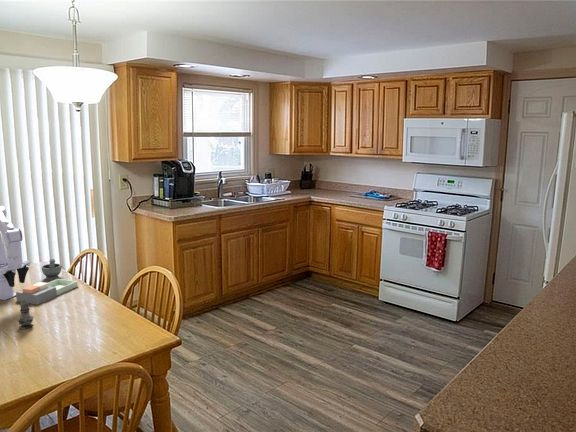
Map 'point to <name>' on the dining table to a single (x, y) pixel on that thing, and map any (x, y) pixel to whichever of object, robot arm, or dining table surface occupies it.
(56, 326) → the dining table surface
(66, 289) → the green bin
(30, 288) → the terracotta tile
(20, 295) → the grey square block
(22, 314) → the dark grey chess piece
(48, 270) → the mortar and pestle
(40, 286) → the cream tile
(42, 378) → the dining table surface
